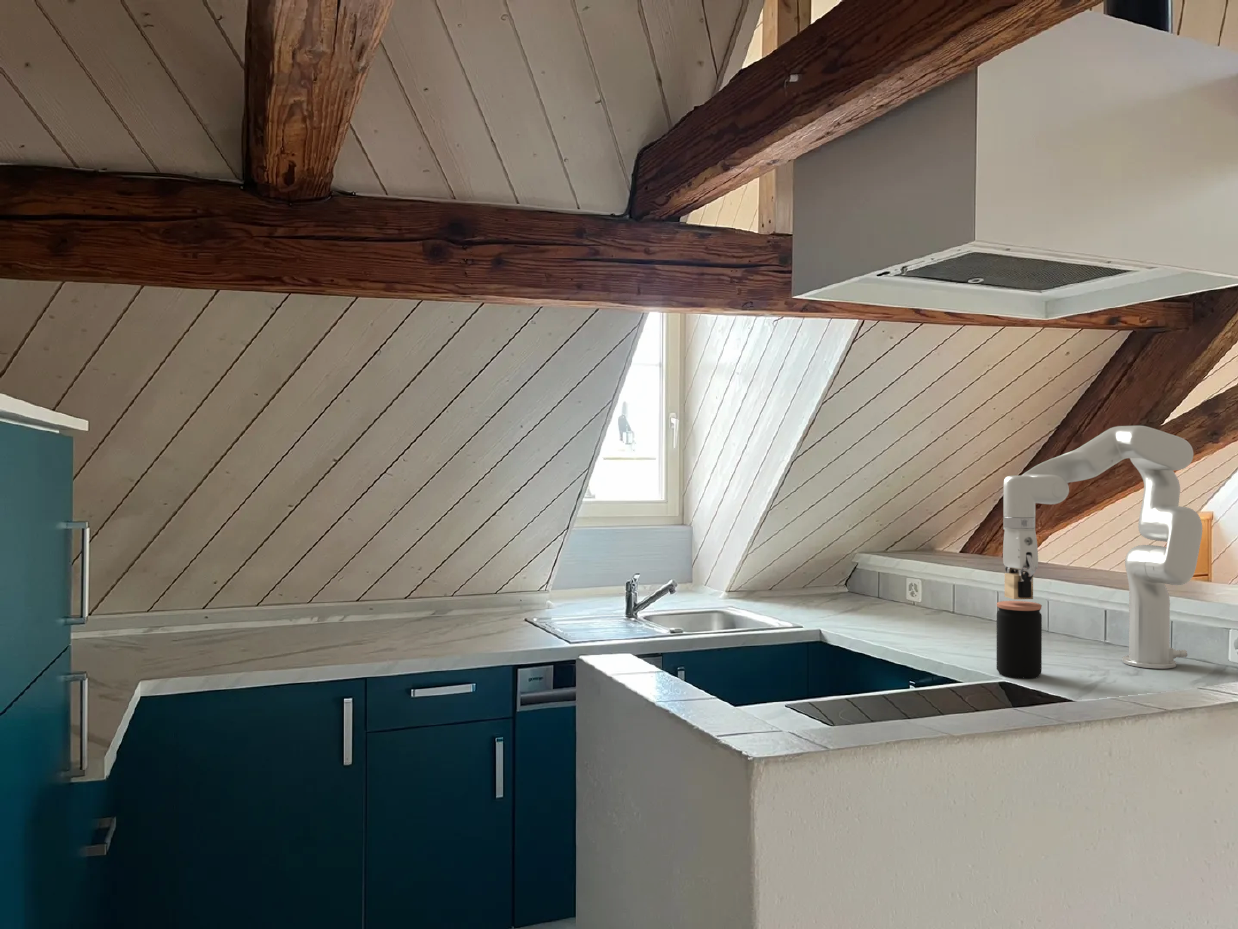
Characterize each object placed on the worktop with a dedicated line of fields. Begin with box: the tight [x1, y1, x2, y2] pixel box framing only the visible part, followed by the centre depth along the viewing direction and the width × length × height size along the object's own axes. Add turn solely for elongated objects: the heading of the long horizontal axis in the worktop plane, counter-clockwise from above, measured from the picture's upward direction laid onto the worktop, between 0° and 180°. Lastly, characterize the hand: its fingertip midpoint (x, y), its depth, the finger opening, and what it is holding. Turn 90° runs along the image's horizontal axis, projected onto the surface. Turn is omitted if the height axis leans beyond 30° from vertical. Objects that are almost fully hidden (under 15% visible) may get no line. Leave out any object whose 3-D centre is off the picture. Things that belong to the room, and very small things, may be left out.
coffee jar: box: [996, 600, 1043, 680], centre depth 253 cm, size 11×11×18 cm
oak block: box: [1004, 572, 1034, 600], centre depth 253 cm, size 5×5×6 cm
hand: (1019, 595), depth 253 cm, fingers closed on oak block, 5 cm apart
